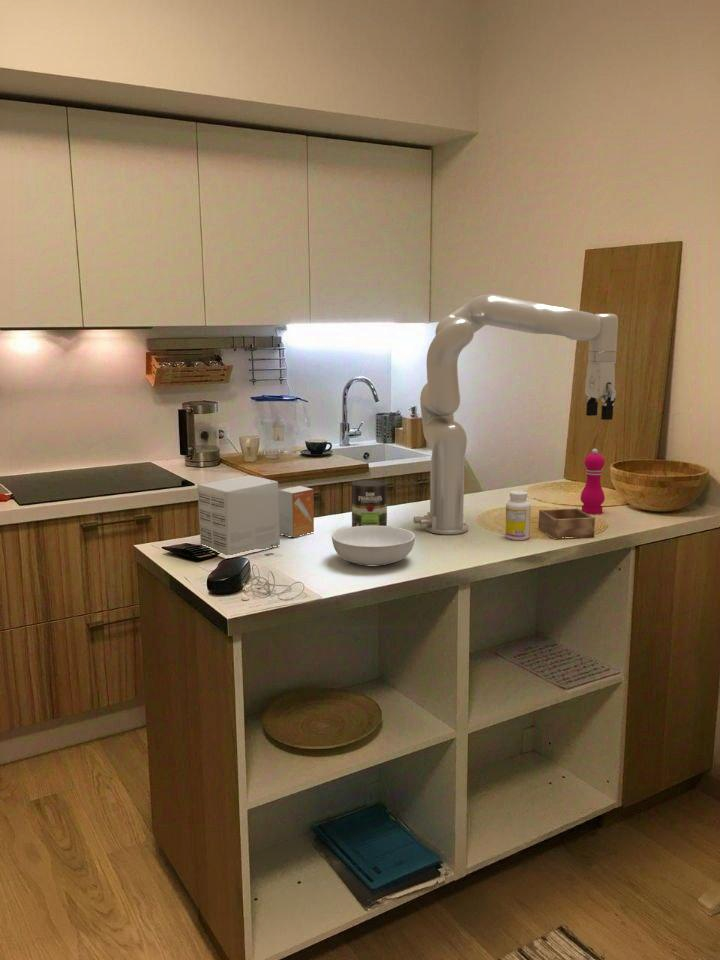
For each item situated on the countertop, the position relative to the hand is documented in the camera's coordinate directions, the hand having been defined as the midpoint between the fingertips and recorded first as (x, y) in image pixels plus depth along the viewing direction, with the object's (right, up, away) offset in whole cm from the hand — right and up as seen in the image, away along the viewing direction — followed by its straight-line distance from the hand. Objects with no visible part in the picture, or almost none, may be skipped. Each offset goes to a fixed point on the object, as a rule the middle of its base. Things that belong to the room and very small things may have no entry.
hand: (599, 417), depth 233 cm
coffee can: (-66, -33, -1) cm, 74 cm away
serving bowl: (-66, -39, -30) cm, 82 cm away
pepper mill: (+3, -28, +19) cm, 34 cm away
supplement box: (-101, -37, -18) cm, 109 cm away
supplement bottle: (-26, -34, -10) cm, 44 cm away
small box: (-87, -34, -4) cm, 94 cm away
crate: (-11, -33, -5) cm, 35 cm away
